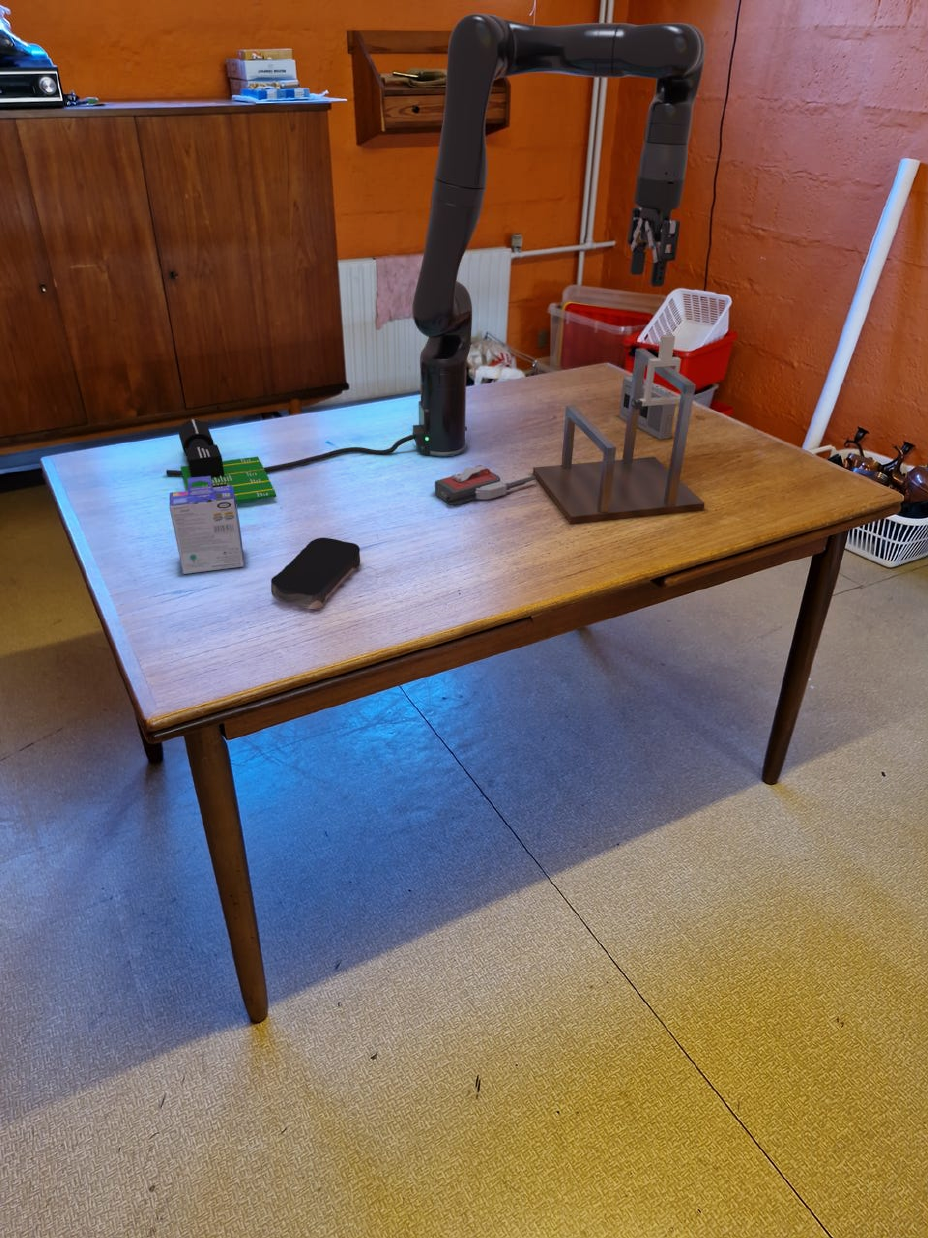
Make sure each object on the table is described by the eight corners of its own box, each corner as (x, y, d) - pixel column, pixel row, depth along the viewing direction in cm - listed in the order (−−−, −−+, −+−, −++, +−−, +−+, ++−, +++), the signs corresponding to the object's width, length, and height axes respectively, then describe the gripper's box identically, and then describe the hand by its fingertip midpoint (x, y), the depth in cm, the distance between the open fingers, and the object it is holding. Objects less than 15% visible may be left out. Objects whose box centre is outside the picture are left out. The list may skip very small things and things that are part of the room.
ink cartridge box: (243, 551, 141) (231, 470, 133) (246, 567, 137) (233, 484, 129) (181, 558, 139) (165, 477, 131) (182, 575, 135) (165, 492, 127)
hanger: (635, 409, 153) (644, 338, 146) (630, 405, 155) (639, 335, 148) (691, 405, 155) (702, 335, 148) (686, 401, 157) (697, 332, 150)
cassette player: (618, 416, 197) (623, 373, 191) (628, 414, 198) (633, 371, 192) (660, 439, 185) (667, 394, 179) (670, 437, 186) (677, 392, 180)
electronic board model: (273, 468, 153) (186, 480, 148) (277, 502, 157) (193, 515, 152) (245, 412, 176) (169, 421, 171) (249, 444, 180) (175, 453, 175)
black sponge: (318, 554, 141) (316, 534, 139) (365, 563, 138) (364, 543, 136) (267, 604, 128) (264, 583, 126) (317, 615, 126) (315, 594, 124)
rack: (570, 524, 151) (582, 393, 138) (532, 474, 169) (540, 353, 156) (703, 510, 156) (727, 382, 143) (653, 463, 174) (670, 345, 161)
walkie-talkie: (454, 512, 154) (538, 486, 164) (454, 490, 152) (540, 464, 162) (427, 495, 160) (510, 470, 170) (427, 473, 158) (511, 450, 168)
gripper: (622, 168, 142) (610, 271, 151) (658, 180, 131) (642, 290, 140) (663, 168, 144) (649, 270, 153) (702, 180, 132) (684, 289, 141)
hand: (646, 279), depth 146 cm, fingers open, 8 cm apart
